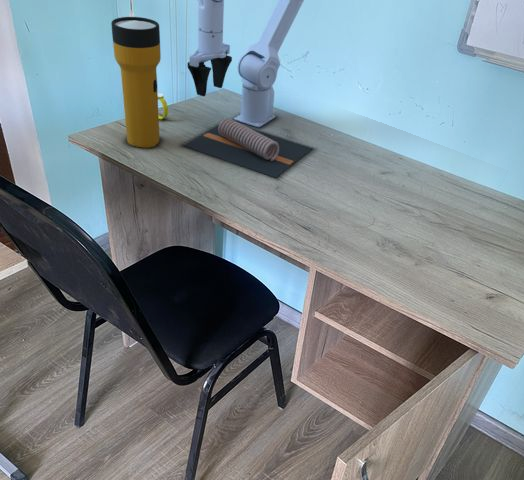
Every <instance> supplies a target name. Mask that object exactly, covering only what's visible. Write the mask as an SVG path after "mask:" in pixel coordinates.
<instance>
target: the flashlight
mask: <svg viewBox="0 0 524 480" xmlns="http://www.w3.org/2000/svg"><path fill="white" fill-rule="evenodd" d="M160 33H161V32H160V24H159V22H158V21H156V20H154V19H151V18H146V17H142V16H121V17H117V18H114V19H113V20H111V35H112V45H113V53H114V54H113V55H114V60H115V61H116V63H117V64H118V66H119V67H120V76H121V87H122V88H121V89H122V97H123V99H122V100H123V109H124V119H125V120H124V121H125V130H126V131H125V133H126V139H127V140H126V141H127V143H128V145H130V146H133V147H137V148H143V149H144V148H145V149H149V148H153V147H155V146H157V145H158V143H159V142H160V121H159V120H160V119H159V115H160V114H159V99H158V93H159V92H158V91H159V90H158V76H157V75H158V73H157V67H158V65H159V64H160V62H161V59H162V57H161V55H162V54H161V35H160Z"/></svg>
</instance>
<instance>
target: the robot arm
mask: <svg viewBox="0 0 524 480" xmlns="http://www.w3.org/2000/svg"><path fill="white" fill-rule="evenodd" d="M304 1H305V0H277V3H276V4H275V7H274V8H273V11H272V13H271V15H270V17H269V19H268V21H267V23H266V25H265V27H264V29H263V31H262V33H261V35H260V37H259V40H258V41H256V42H254V43H252V44H250V45H249V46H248V48H247V49H246V51H245V53H244V54H242V56H240V59H239V60H238V62H237V73H238V75H239V77H241V85H242V86H241V102H240V103H241V104H240V114H238V115H236V116H235V117H234V118H233V120H234V121H236V122H239V123H243V124H245V125H246V124H247V125H250V126H253V127H255V128H260V127H262V126H264V125H265V124H268V123H269V122H270V121H272V120H274V119H275V118H276V115H275V114H273V112H274V102H275V89H274V87H273V85H274V84H275V82H276V80H277V77H278V71H279V68H280V66H281V60H280V57H279V54H278V53H279V51H280V49H281V47H282V45H283V43H284V41H285V40H286V37H287V35H288V33H289V31H290V29H291V27H292V25H293V23H294V22H295V19H296V17H297V15H298V13H299V11H300V9H301V7H302V6H303V3H304ZM197 2H198V12H197V13H198V15H197V16H198V18H197V19H198V25H197V26H198V28H197V29H198V32H197V34H198V37H197V38H198V39H197V40H198V41H197V43H198V47H197V49H196V50H195V52H194V53H193V54H192V55H190V56H189V61H188V62H187V69H188V71H189V73H190V74H191V77H192V80H193V83H194V88H195V92H196V95H197V96H200V97H205V96H206V95H207V90H208V80H209V76H210V73H211V70H212V83H213V87H215V88H219V89H222V88H223V86H224V81H225V78H226V75H227V74H226V73H227V71H228V69H229V67H230V65H231V63H232V61H233V57H232V56H231V55H229V54H230V52H231V45H230V44H227V43H224V15H225V13H224V11H225V0H197ZM209 61H210V64H211V67H209V66H206V64H205V63H206V62H209Z"/></svg>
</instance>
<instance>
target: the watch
mask: <svg viewBox="0 0 524 480" xmlns="http://www.w3.org/2000/svg"><path fill="white" fill-rule="evenodd" d="M158 101H160V103H161V105H162V109H163V114H162V115H160V114H158V115H159V120H160V121H162V120H164V119H166V118H167V117H168V114H169V106H168V103H167V101H166V99H165V97H164V94H163V93H161V92H158Z"/></svg>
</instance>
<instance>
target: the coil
mask: <svg viewBox="0 0 524 480" xmlns="http://www.w3.org/2000/svg"><path fill="white" fill-rule="evenodd" d="M218 125H219V127H218V132H219V134H220V135H221V136H223V137H225V138H227V139H229V140H231V141H232V142H234V143H236V144H238V145H240V146H242V147H244V148H245V149H247V150H249V151H251V152H253V153H255V154H257V155H259V156H260V157H262V158H264V159H266V160H269V159H270V160H271V161H273V160H275V159H276V157H277V156H278V153H279V145H278V143H277V142H276V141H273V140H271V139H270V138H268V137H265V136H264V135H262V134H259V133H258V132H256V131H254V130H255V129H253V128H250V127H248V126H246V125H245V124H242V123H241V122H239V121H236V120H234V119H232V118H230V117H225V118H223V119H222V120H221V121H220V122H219V124H218ZM252 129H253V130H252ZM274 154H275V155H274Z"/></svg>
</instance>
